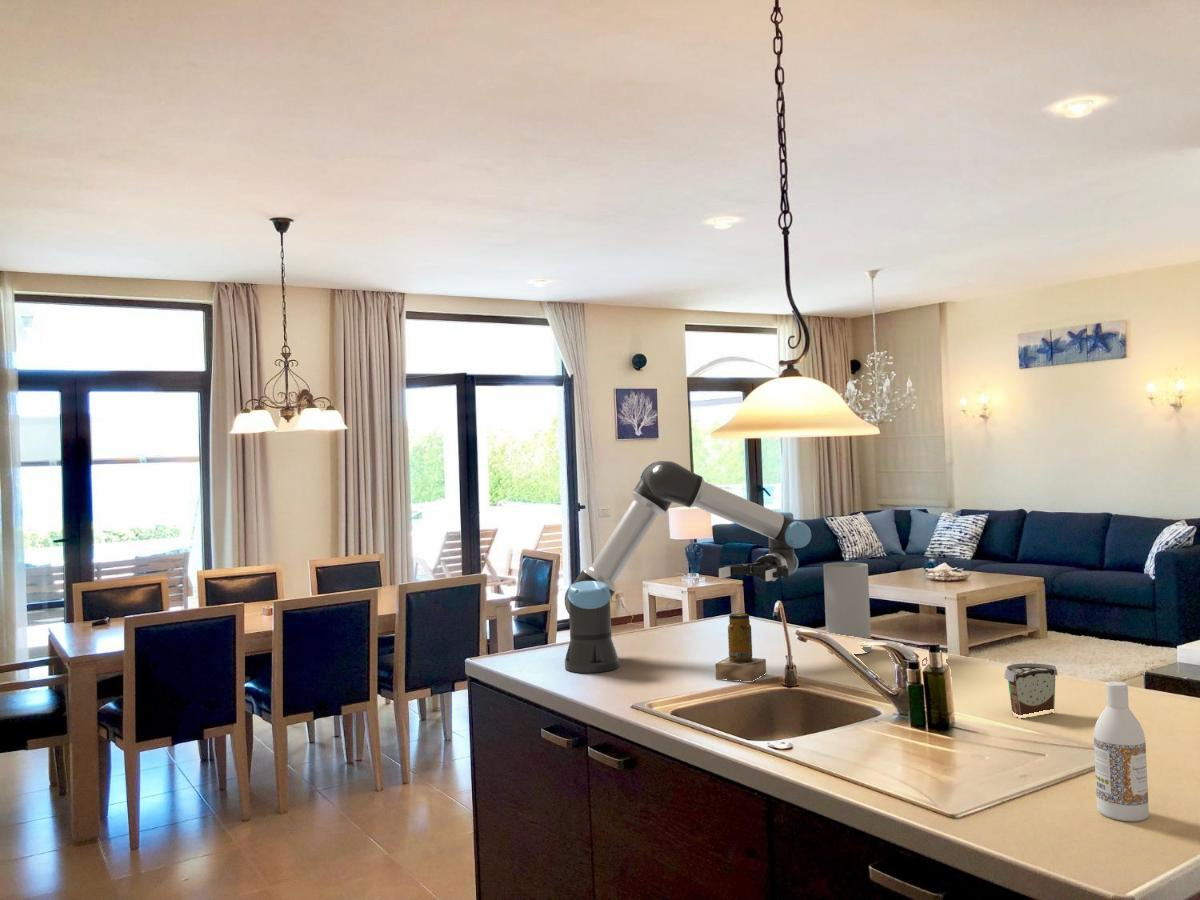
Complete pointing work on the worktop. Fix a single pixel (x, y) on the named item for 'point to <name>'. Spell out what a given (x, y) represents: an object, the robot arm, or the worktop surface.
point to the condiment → (740, 639)
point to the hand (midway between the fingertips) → (743, 574)
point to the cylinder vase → (847, 600)
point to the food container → (1031, 687)
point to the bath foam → (1120, 759)
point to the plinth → (740, 670)
